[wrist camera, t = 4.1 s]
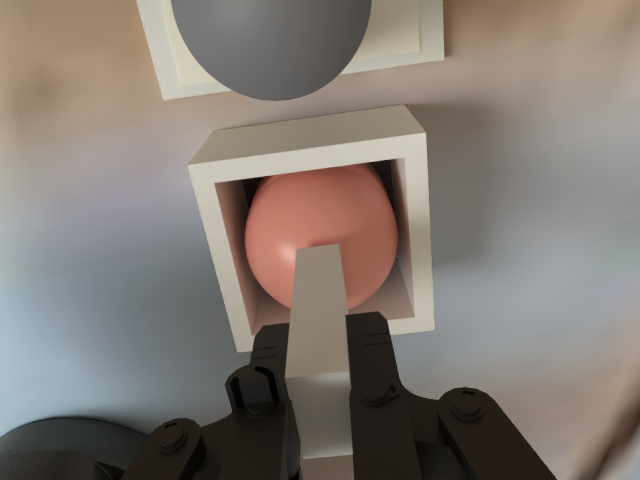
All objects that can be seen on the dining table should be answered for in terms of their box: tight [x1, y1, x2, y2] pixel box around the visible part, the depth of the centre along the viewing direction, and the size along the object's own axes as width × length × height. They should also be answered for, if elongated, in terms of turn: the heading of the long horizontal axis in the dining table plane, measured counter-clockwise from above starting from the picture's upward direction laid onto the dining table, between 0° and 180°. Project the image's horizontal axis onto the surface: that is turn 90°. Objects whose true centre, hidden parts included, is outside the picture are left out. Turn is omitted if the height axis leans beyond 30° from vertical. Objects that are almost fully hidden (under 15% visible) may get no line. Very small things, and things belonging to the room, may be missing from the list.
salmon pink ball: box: [245, 162, 398, 310], centre depth 21 cm, size 6×6×6 cm
